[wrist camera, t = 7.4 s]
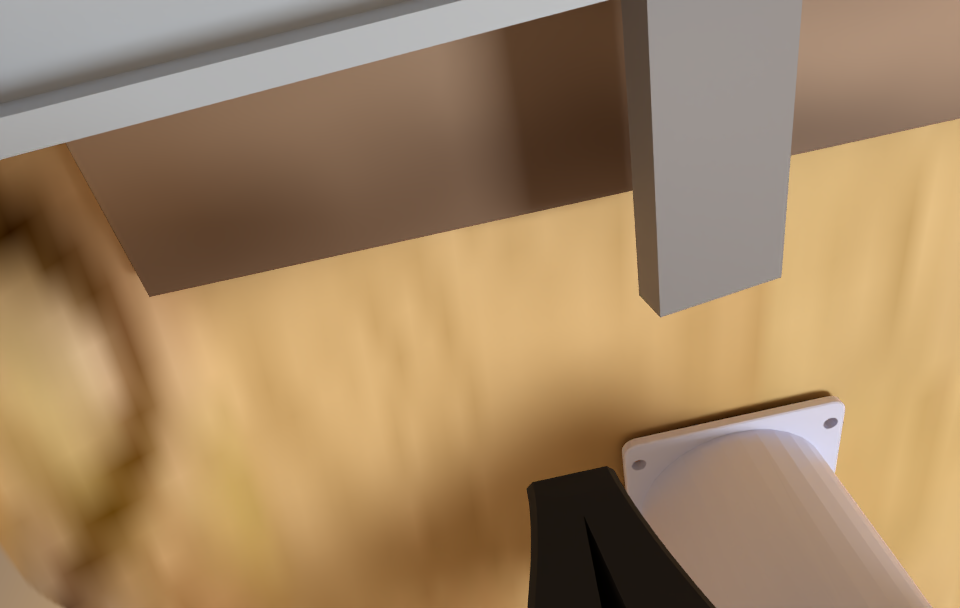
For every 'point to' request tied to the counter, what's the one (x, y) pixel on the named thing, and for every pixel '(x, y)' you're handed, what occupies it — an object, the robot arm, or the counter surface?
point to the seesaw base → (465, 137)
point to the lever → (436, 20)
